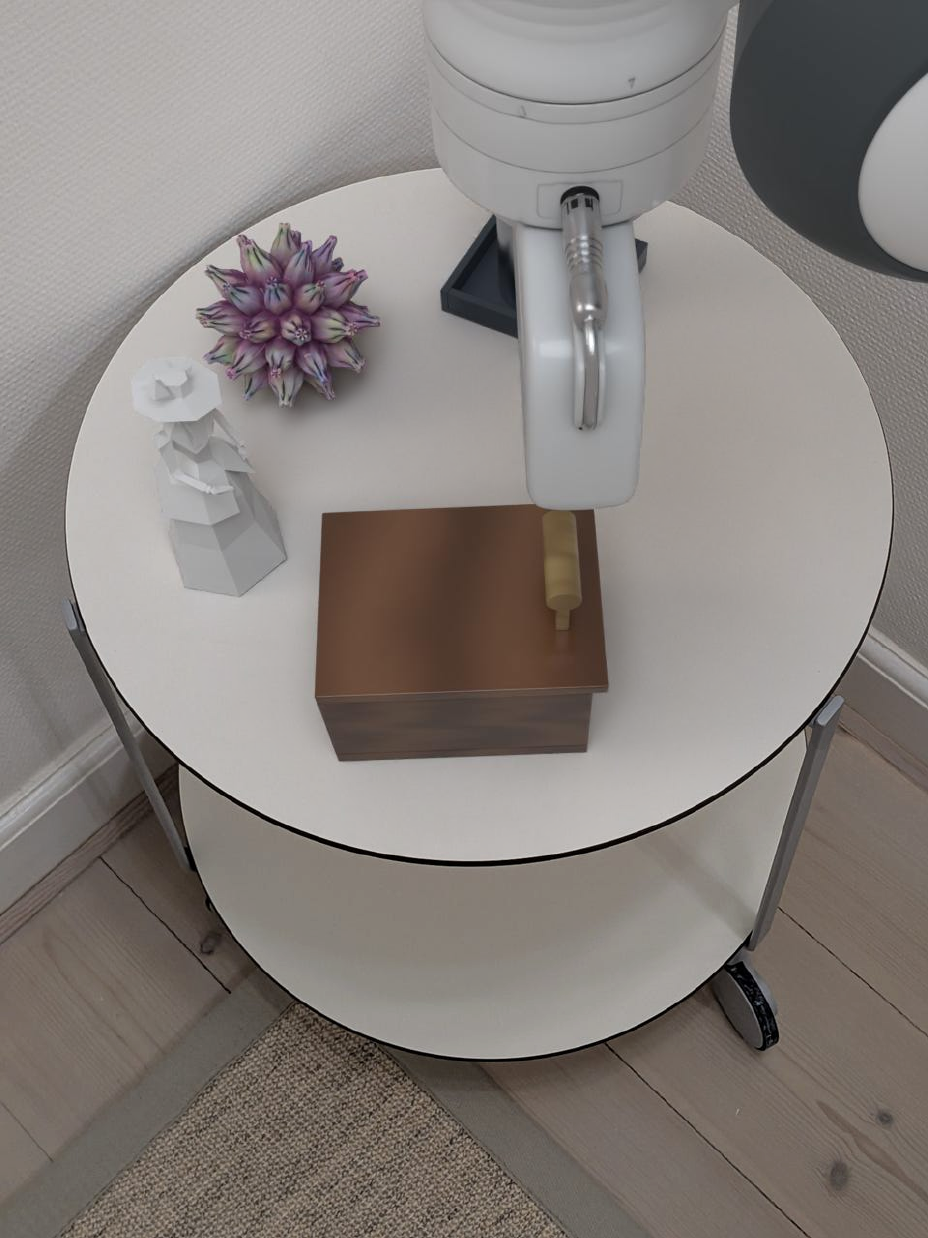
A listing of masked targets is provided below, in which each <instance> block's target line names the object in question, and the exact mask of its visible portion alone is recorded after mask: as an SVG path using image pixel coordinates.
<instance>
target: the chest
mask: <svg viewBox="0 0 928 1238" xmlns="http://www.w3.org/2000/svg"><path fill="white" fill-rule="evenodd" d="M593 694H594V693H583V694H556V695H530V696H503V697H477V698H450V699H423V700H397V701H370V702H344V703H317V702H316V705H317V708H318V711H319V713H320V716H321V718H322V721H323V723H324V726H325V729H326V732H327V734H328V737H329V739H330V742H331V745H332V748H333V751H334V753H335V755H336V758H337V760H338V762H362V761H363V762H364V761H365V762H366V761H386V760H391V761H392V760H414V759H415V760H416V759H442V758H443V759H445V758H465V757H466V758H467V757H469V758H470V757H471V758H472V757H496V756H520V755H521V756H522V755H525V756H526V755H547V754H548V755H549V754H552V755H553V754H577V753H578V754H579V753H587V751H588V743H589V734H590V723H591V713H592V703H593Z"/></svg>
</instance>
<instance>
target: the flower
mask: <svg viewBox="0 0 928 1238" xmlns="http://www.w3.org/2000/svg"><path fill="white" fill-rule="evenodd" d="M235 242H236V243H237V246H238V248H239V256H240V259H239V263H240V267H241V269H242V271H241V270H239V269H234V268H229V269H228V268H219V267H217V266H214V265H213V264H207V265H206V269H205V270H203V274H204V275H205V276H206V277H207V278H208V279H210V280H211V281H212V282H213V284H214V285H215V287H216V289H217V291H218V293H219V294H220V296H221V297H222V298H223V299H224V300H218V301H216V302H214V303H212V304H210V305H208V306H206V307H198V308H196V309H195V311H194V312H195V313H196V314H195V319H196V320H197V321H198V320H199V323H200V325H202V328H204V329H214V330H215V331H217V332H219V333H220V334H222V336H221V337H220V338H218V340H217V343H216V344H215V346H214V347H213V349H211V350H210V351H209V352H207V353H206V354H204V355H203V357H202V359H203V360H204V361H207V365H213V364H214V363H220V364H221V365H224V367H228V368H227V370H226V371H225V375H227V377H228V379H230V380H231V381H235V380H236V379H238V378H239V377H241V376H243V379H244V380H243V381H244V391H243V392H242V398H245V401H246V402H248V401H250V402H251V401H252V399H253V398H254V396H255V395H256V394H257V393H258V392H260V391H261V390H263V389H264V388H265V387H267V386H268V385H270V387H271V390H272V391H273V392H274V394H275V395H276V397H277V401H278V407H279V408H283V409H286V408H289V409H290V408H293V407H295V405H296V399H297V395H298V393H299V391H300V389H301V388H302V385H303V384H304V381H305V382H307V383H309V384H310V385H311V386H313V387H314V389H315V390H316V392H317V393H319V394H320V393H321V394H323V395H324V396H325V397H326V399H327V400H329V401H331V399H333V400H337V395H336V394H335V391H334V389H333V376H332V370H331V368H330V366H331V367H334V368H347V369H350V370H352V371H354V372H355V373H357V374H359V373H361V372H362V371H363V369H364V368H365V364H366V361H367V358H366V357H365V356H364V355H362V354H361V353H360V351H359V350H358V348H357V346H356V344H355V342H354V341H353V339H352V337H353V336H355V335H357V334H359V333H362V332H363V331H366V330H367V329H369V328H379V327H380V326H381V322H379V321H380V317H379V316H377V315H370V314H369V313H370V309H369V308H368V305H359V304H357V303H355V302H354V301H351V299H352V298H354V296H355V295H356V293H357V292H358V290H359V288H360V286H361V285H362V283H364V282H365V281H366V280H368V279H369V275H368V274H367V273H366V272H367V270H365V269H364V268H363V269H360V270H358V271H357V270H356V269H354V268H352V269H348V270H347V271H342V269H343V268H344V267H345V264H344V260H343V258H342V257H341V256H338V257H337V258H335V259H333V257H334V250H335V248H336V246H337V244H338V237H337V236H336V235H332V234H331V235H328V237H327V239H326V240H325V242H324V243H323V244H322V245H320V246H319V247H318V248H316V249H314V250H313V240H311V239H308V240H305V241H304V240H303V241H302V232H300V231H299V230H293V229H291V224H290V222H286V223H285V222H284V223H283V222H280V223H278V232H277V235H276V237H275V238H274V240H273V242H272V245H271V248H270V250H269V252H268V251H266V250H264V249H262V248H261V247H259V246H258V244H257V243H256V241H255V240H254V239H253V238H250V239H249V238H248V237H247V235H245V234H238V235H237V238H235ZM350 336H352V337H350ZM329 365H330V366H329Z"/></svg>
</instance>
